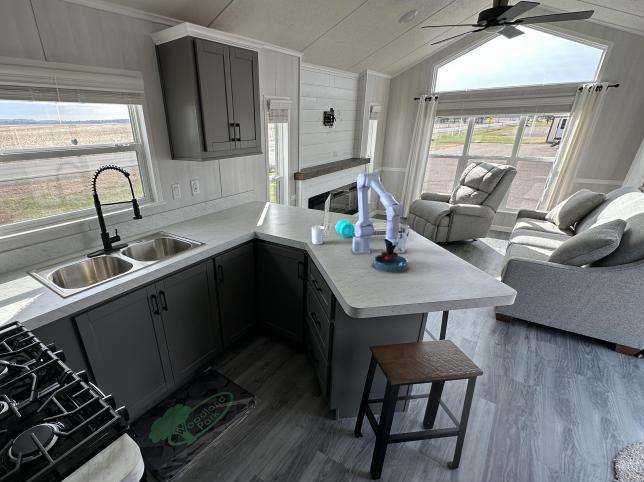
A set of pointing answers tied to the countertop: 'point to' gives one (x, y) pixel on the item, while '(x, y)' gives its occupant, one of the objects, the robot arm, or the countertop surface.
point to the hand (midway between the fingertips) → (389, 253)
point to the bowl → (390, 264)
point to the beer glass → (402, 238)
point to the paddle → (385, 254)
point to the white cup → (317, 234)
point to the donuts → (345, 228)
